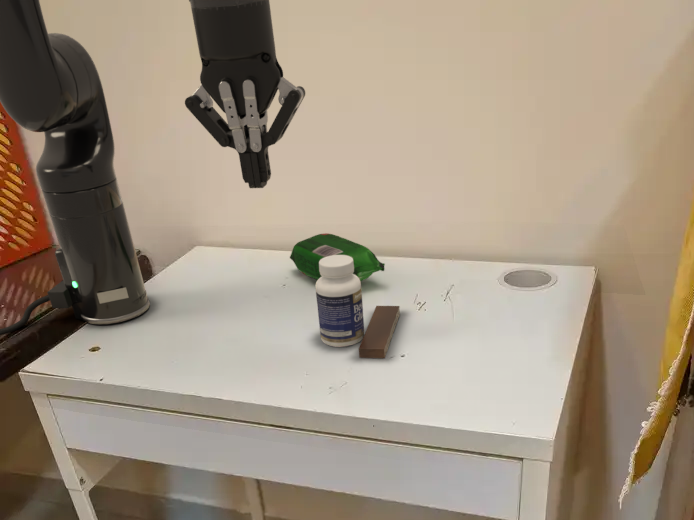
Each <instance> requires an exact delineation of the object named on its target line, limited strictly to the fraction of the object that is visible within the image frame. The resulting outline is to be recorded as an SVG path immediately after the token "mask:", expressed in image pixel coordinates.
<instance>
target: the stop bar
mask: <svg viewBox="0 0 694 520" xmlns="http://www.w3.org/2000/svg"><path fill="white" fill-rule="evenodd" d="M400 308H401V307H400V305H375V308H374V310H373V313H372V315H371V318H370V320H369V323H368V325H367V328H366V330H365V331H364V337H363V339H362V340H361V341H360V344H359V347H358V357H359V359H385V358H386V356H387V353H388V350H389V347H390V344H391V341H392V339H393V335H394V333H395V329H396V327H397V324H398V321H399V318H400V315H401V310H400Z"/></svg>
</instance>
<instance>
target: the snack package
mask: <svg viewBox="0 0 694 520" xmlns="http://www.w3.org/2000/svg"><path fill="white" fill-rule="evenodd" d="M332 255H347V256H350V257H352V258H353V262H354V272H353V273H352V274H354V275H356V276H357V277H358V278H359V279H360V282H363V281H365V280H366V279H368V278H369V277H371V276H372V275H373V273H376V272H379V271H381V272H384V271H385V265H386V263H385V262H384V263H383V262H381V261H380V260H379V259H378V257H377V256H376V255H375V253H374V252H373V251H372V250H370V249H369V248H368V247H366V246H365V245H363V244H360V243H358V242H354V241H352V240H350V239H347V238H345V237H341V236H339V235H336V234H333V233H326V232H325V233H318V234H315V235H312V236H310V237H308V238H305V239H303V240H301V241H298V242H296V244H294V246H293V247H292V251H291V253H290V255H289V259H290V260H291V261H292V262H293V264H294V265H295V267H296V269H297V270H298V271H299V272H300V273H302V274H303V275H305V276H306V277H310V278H312V279H315V280H316V281H317V280H318V279H319V278H320V277H322V276H321V275H320V272H319V261H320V260H321V259H322V258H324V257H327V256H332Z"/></svg>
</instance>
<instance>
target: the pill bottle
mask: <svg viewBox="0 0 694 520" xmlns="http://www.w3.org/2000/svg"><path fill="white" fill-rule="evenodd" d="M319 272H320V275H321V276H322V277H320V278H319V279H318V280H317V279H316V282H315V286H314V287H315V288H314V289H315V297H316V304H317V305H316V306H317V313H318V324H319V334H320V339H321V341H322V342H323V343H324V344H325V345H327V346H330V347H334V348H335V347H336V348H340V347H348V346H353V345H357V344H358V343H361V342H362V339H363V337H364V335H365V319H364V307H363V306H364V305H363V294H362V293H363V292H362V291H363V290H362V281H360V279H359V278H358V277H357V276H356V275H354V274H352V273H353V272H354V262H353V258H352V257H350V256H347V255H332V256H327V257H324V258H322V259H321V260H320V261H319Z"/></svg>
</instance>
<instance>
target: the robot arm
mask: <svg viewBox="0 0 694 520" xmlns="http://www.w3.org/2000/svg"><path fill="white" fill-rule="evenodd" d="M188 2H189V4H190V9H191V14H192V20H193V25H194V26H193V27H194V32H195V36H196V43H197V47H198V53H199V58H200V61H201V70H200V74H199V81H200V85H199V86H198V87H197V89H196V90H195V91H194V92H193V94H190V95H189V96H187V97H186V98H185V100H184V104H185V107H186V108H187V110H188V111H189V112H190V113H191V115H192V116H193V117H195V119H196V120H197V121H198V122H199V123H200V124H201V126H203V128H204V129H205V130H206V131H207V132H208V133H209V134H210V135H211V137H212V138H213V139H214V140H215V141H216V142H217V143H218V145H219V146H221V147H222V148H231V149H233V150H235V151H236V152H237V154H238V158H239V164H240V170H241V175H242V176H241V177H242V179H243V182H244V183H245V184H248V188H249V189H263V188H265V187H266V186H267V184H268V181H270V179H271V177H272V169H271V164H270V156H269V147H270V146H273V145H276V144H277V143H278V142H279V141H280V140H281V139H282V138H283V137H284V135H285V133H286V131H287V129H288V128H289V126H290V124H291V122H292V120H293V119H294V117H295V116H296V115H295V114H296V113H297V112H298V110H299V108H300V106H301V104H302V102H303V100H304V98H305V96H306V90H305V88H304V87H303V86H300V85H298V86H296V85H294V84H293V83H292V82H290V81H289V80H288V79H286V78H285V77H284V70H283V68H282V66H281V64H280V63H279V61H278V58H277V53H276V44H275V37H274V29H273V27H274V26H273V20H272V19H273V18H272V11H271V5H270V3H271V2H270V0H188ZM46 25H47V24H46V22H45V18H44V14H43V11H42V5H41V2H40V0H0V104H1V106H2V107H3V109H4V111H5V112H6V113H7V115H8V116H9V117H10V118H11V119H12V120H13V121H14V122H15V123H16V124H17V125H19V126H20V127H22V128H23V129H25V130H27V131H29V132H34V133H44V145H43V150H42V153H41V155H40V157H39V159H38V160H37V163H36V165H35V173H36V177H37V179H38V184H39V187H40V189H41V192H42V196H43V199H44V202H45V206H46V208H47V211H48V214H49V217H50V220H51V223H52V227H53V229H54V234H55V236H56V239H57V242H58V246H59V247H58V248H57V249H56V250H55V252H54V256H55V259H56V262H57V265H58V267H59V271H60V275H61V277H62V280H61V281H60V282H58V283H57V284H56V285H55V286H53V287H52V288H50V290H48V291H47V295H45V296H42V297H40V298H37V299H35V300H34V301H33V302H31V303H30V304H29V305H28V306H27V307H26V308H25V310H24V312H23V316H22V318H21V319H20V320H18V321H17V322H15V323H13V324H11V325H8V326H7V327H3V328H0V335H5V334H8V333H11V332H14V331H15V332H16V330H18V329H21V328H23V327H24V326H25V325H26V324H27V323H28V322H29V320H30V318H31V315H32V312H33V311H34V310H35V309H37V307H39V306H40V305H41V306H42V305H43V304H45V303H48V302H50V304H51V308H52V309H69V308H72V312H73V314H74V318H75V320H82V321H83V322H86V323H88V324H93V325H112V324H118V323H122V322H126V321H130V320H132V319H134V318H137V317H139V316H140V315H143V314H144V313H145V312H146V311H148V310H149V308H150V304H151V303H150V300H149V297H148V295H147V290H146V286H145V283H144V279H143V275H142V271H141V267H140V263H139V259H138V255H137V251H136V248H135V244H134V240H133V236H132V231H131V229H130V225H129V220H128V216H127V212H126V208H125V204H124V201H123V198H122V193H121V190H120V186H119V182H118V177H117V174H116V169H115V164H114V162H115V154H116V152H115V151H116V150H115V149H116V148H115V139H114V135H113V130H112V124H111V120H110V119H111V118H110V114H109V111H108V106H107V101H106V96H105V92H104V87H103V84H102V80H101V77H100V74H99V71H98V69H97V67H96V64H95V62H94V60H93V58H92V56H91V55H90V53H89V52H88V51H87V49H86V48H85V47H84V46H83V45H82V44H81V43H80V42H79V41H77V40H76V39H75V38H73V37H71V36H70V35H68V34H64V33H58V32H48V29H47V26H46ZM278 92H279V95H278V103H279V104H280V105H281V107H280V108H279V111H278V112H277V114H276V115H275V118H274V120H273V121H272V124H271V125H270V127H269V128H268V121H269V116H268V110H269V109H270V107H271V105H272V103H273V101H274V100H275V99H274V98H275V97H276V95H277V93H278ZM214 102H215V104H216V105H217V106H218V108H220V110H221V111H222V112H223V113H224V114H225V116H226V121H225V119H224V118H223V117H222V116H221V114H220V113H218V111H217V110H216V109H215V108H214Z"/></svg>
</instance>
